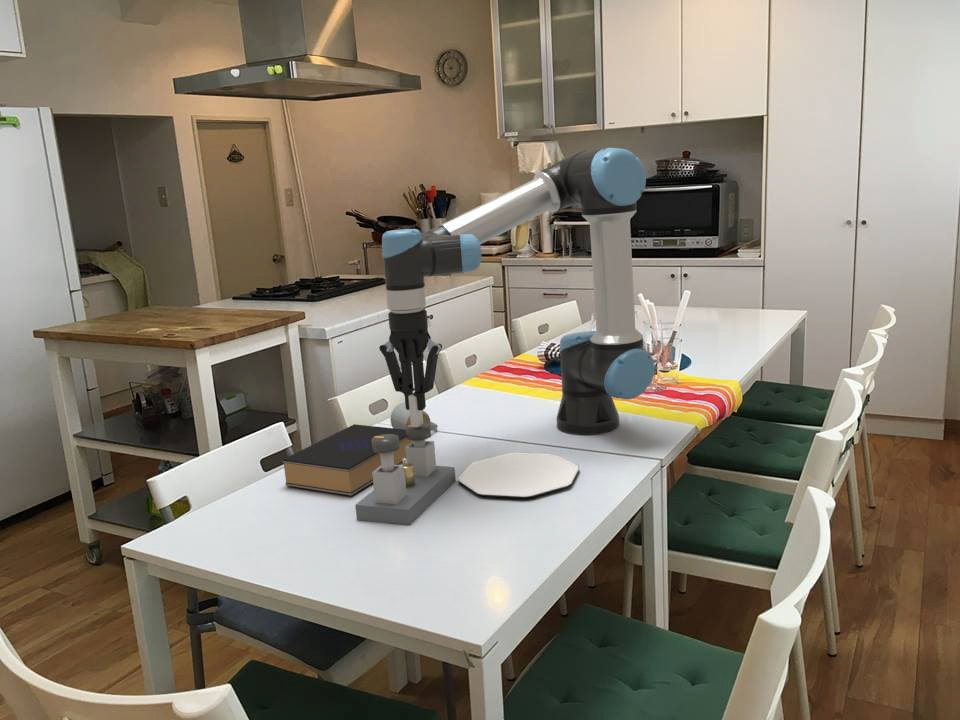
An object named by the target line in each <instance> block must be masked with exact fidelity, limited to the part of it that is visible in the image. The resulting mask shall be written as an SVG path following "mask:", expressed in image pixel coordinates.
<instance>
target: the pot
mask: <svg viewBox="0 0 960 720" xmlns="http://www.w3.org/2000/svg"><path fill="white" fill-rule="evenodd" d="M402 462H403V464H400V465H404V471H405V482H406V488H409V487H413V486H414V485H415V479H414V469H413V464H411V463H408V460H407V458H402Z"/></svg>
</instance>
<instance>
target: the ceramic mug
mask: <svg viewBox="0 0 960 720" xmlns="http://www.w3.org/2000/svg"><path fill="white" fill-rule="evenodd" d="M422 413H423V423H424V424H429V425H430V427H431V431H432V432H433V431H434V432H435V431H437V430H438V429H437V428H438V426H439V425H438V424H437V423H435V422H433V421H431V418H430V415H429V414H428V413H427V412H426V410H425V409H424V410H422ZM390 424H391V428H395V429H405V430H406V427H407V426H409V425H411V420H410V410H407V409H406V406H405V401H404V402H401V403H398V404H397V405H396V406H395V407H394V408H393V409H392V411H391V413H390Z"/></svg>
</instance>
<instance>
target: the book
mask: <svg viewBox="0 0 960 720" xmlns="http://www.w3.org/2000/svg"><path fill="white" fill-rule="evenodd" d="M383 434H395V435H397V436H398V437H399V447H400V448H399V449H398V450H396V451H393V457H394V465H400V464H403V462H402V458H406V451H405V447H406V446H408V445H409V444H410V443H412V442H413V441H412V440H408V439H407V437H406V430H405V429H395V428H393V427H386V426H385V427H384V426H375V425H364V424H356V423H354V424H352V425H349V426H347V427H346V428H343V429H342V430H339V431H338V432H336V433H333V434H332V435H329V436H327V437H326V438H325V437H324V438H323V439H322V440H319V441H317V442H315V443H313V444H312V445H311V444H310V445H309V446H307V447H305V448H303V449H301V450H299V451H297V452H295V453H293V454H292V455H289V456H287V457H285V458H283V459H282V463H283V468H284V477H285V486H287V487H293V488H298V489H306V490H312V491H318V492H324V493H330V494H337V495H344V496H350V497H351V496H354V495H356V494H357V493H358V492H360V491H362V490H363V489H365V488H367V487H368V486H370V485H372V484H373V475H372V472H373V471H375V470H376V469H377V468H379V467H380V466H381V457H380V453H376V452H374V451H373V449H372V438H373V437H375V436H378V435H383Z"/></svg>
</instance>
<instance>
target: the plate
mask: <svg viewBox="0 0 960 720" xmlns="http://www.w3.org/2000/svg"><path fill="white" fill-rule="evenodd" d="M579 470H580V467H579V466H578V465H577V464H574V463H573V462H570V461H568V460H567V459H564V458H563V457H560V456H558V455H556V454H554V453H553V454H552V453H529V452H526V453H525V452H508V453H504V454H500V455H497V456H496V455H495V456H492V457H488V458H484V459H480V460H475V461H473V462H471V463H470V464H469V465H468V466H467V467H466V468H465V469H464V471H463V472H462V473H461V474H460V475H459V477H458V478H457V482H459V483H460V484H462V485H463V486H465V487H466V488H468V489H469V490H471V491H472V492H473V493H475V494H476V495H477V496H481V497H494V498H495V497H498V498H499V497H500V498H516V499H529V498H533V497H537V496H541V495H545V494H547V493H548V494H549V493H552V492H555V491H558V490H562V489H566V488H568V487H570V486H571V485H572V484H573V481H574V480H575V478H576V476H577V474H578V472H579Z"/></svg>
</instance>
